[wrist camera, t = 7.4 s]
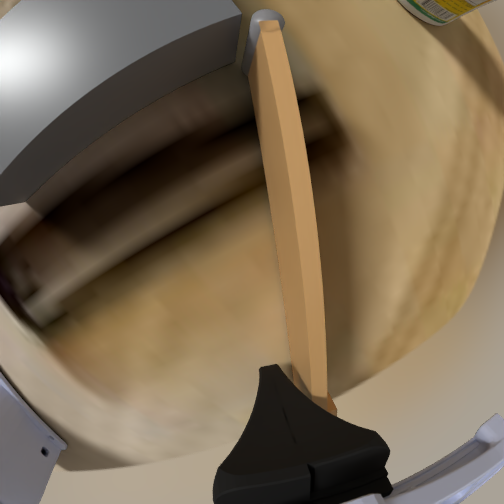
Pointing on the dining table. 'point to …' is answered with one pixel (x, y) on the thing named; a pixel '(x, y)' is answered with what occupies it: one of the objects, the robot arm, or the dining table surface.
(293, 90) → the side door
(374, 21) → the dining table surface
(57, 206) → the dining table surface
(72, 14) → the camera body
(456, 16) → the supplement bottle
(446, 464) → the robot arm
